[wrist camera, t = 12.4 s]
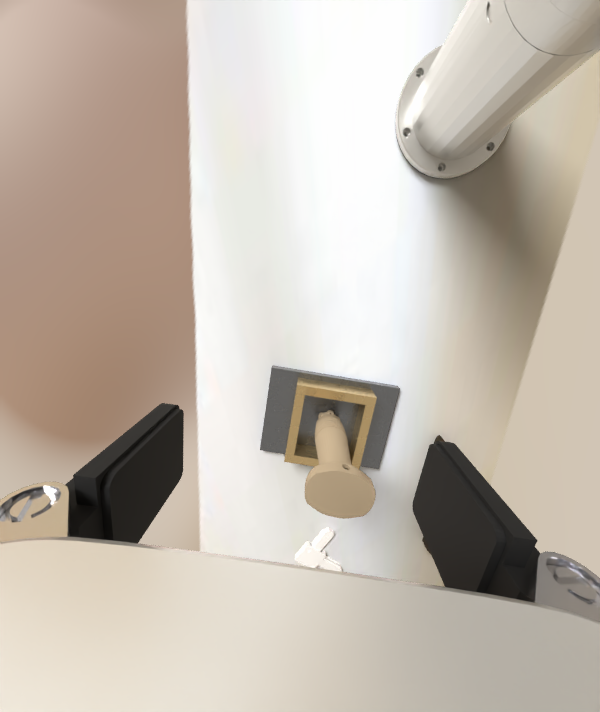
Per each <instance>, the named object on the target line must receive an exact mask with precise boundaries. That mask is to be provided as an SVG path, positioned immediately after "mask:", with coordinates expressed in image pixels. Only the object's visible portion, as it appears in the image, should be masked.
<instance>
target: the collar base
mask: <svg viewBox="0 0 600 712" xmlns="http://www.w3.org/2000/svg"><path fill="white" fill-rule="evenodd" d="M399 390H400V388H399V387H398V386H394V385H388V384H382V383H376V382H370V381H364V380H358V379H351V378H345V377H339V376H333V375H327V374H321V373H315V372H309V371H303V370H296V369H290V368H284V367H278V366H272V370H271V377H270V384H269V391H268V398H267V405H266V412H265V419H264V426H263V433H262V440H261V447H260V450H264V451H270V452H276V453H282V454H285V460H284V462H290V463H296V464H302V465H309V466H317V465H319V461H318V455H317V450H316V444H315V428H316V422H317V420H318V415H319V414H320V413H321V412H322V413H324V412H327V411H328V410H331V411H333V412H334V414H335V415H336V416H338V417H339V418H340V421H341V423H342V425H343V427H344V429H345V432H346V436H347V440H348V447H349V454H350V459H351V465H352V466H354V467H356V468H357V469H359V468H360V466H364V467H370V468H376V469H379V465H380V461H381V458H382V454H383V450H384V446H385V443H386V439H387V435H388V431H389V428H390V424H391V420H392V416H393V413H394V409H395V405H396V401H397V398H398V394H399Z"/></svg>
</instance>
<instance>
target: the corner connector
mask: <svg viewBox="0 0 600 712" xmlns="http://www.w3.org/2000/svg"><path fill="white" fill-rule="evenodd" d="M333 536H334V532H333V530H332V529H330V528H328V527H327V528H326V529H325V528H324V529H323V530H322V531H321V532H320V533H319V534H318V535H317V537H316V538H315V539H314V540H313V541H312V542H311V544H310V542H309V541H306V543H305V544H304V545H303V546H302V547H301V549H300V550H299V551H298V552H297V553H296V555H295V561H297V562H299V563H300V564H302V565H304V566H306V567H312V568H316V567H317V566H318V565H319V566H321V567H323V568H324V569H326V570H333V571H340V572H342V569H341V566H340V564H339V563H338V562H336V561H335V560H333V559H331V558H329V557H327V556H326V553H325V550H323V548H324V547H325V546H326V544H327V543H328V542H329V541H330V540H331V539H332V537H333ZM321 550H322V551H321Z"/></svg>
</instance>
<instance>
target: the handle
mask: <svg viewBox="0 0 600 712" xmlns="http://www.w3.org/2000/svg"><path fill="white" fill-rule="evenodd" d="M315 444H316V450H317V455H318V461H319V465H317V466H315V467H314V468H313V469H312V470H311V471H310V472H309V474H308V476H307V479H306V483H305V499H306V502H307V503H308V504H309V505H310V506H312V507H313V508H314V509H316V510H317V511H319V512H321V513H322V514H325V515H329V516H333V517H337V518H354V517H361V516H364V515H365V514H367V513H368V512H369V511H370V509H371V508H372V506H373V504H374V501H375V489H374V486H373V483H372V481H371V479H370V478H369V477H368V476H367V475H366V474H364V473H363V472H362V471H360V470H359V469H357V468H356V467H354V466H352V465H351V459H350V454H349V447H348V440H347V436H346V432H345V429H344V427H343V425H342V423H341V421H340V418H339V417H338V416H336V415H335V414H334V412H333V411H331V410H328V411H327V412H324V413H322V412H321V413H320V414H319V415H318V420H317V422H316V428H315Z"/></svg>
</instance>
